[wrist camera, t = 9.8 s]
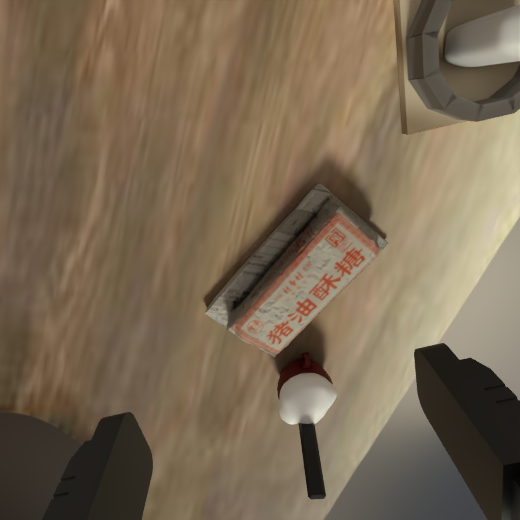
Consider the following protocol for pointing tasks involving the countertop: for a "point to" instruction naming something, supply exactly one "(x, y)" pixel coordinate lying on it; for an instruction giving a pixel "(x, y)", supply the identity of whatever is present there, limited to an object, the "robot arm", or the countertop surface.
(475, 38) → the eye dropper bottle
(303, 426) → the red-capped knob on stick
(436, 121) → the collar board
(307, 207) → the packaged product
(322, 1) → the countertop surface
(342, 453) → the countertop surface
